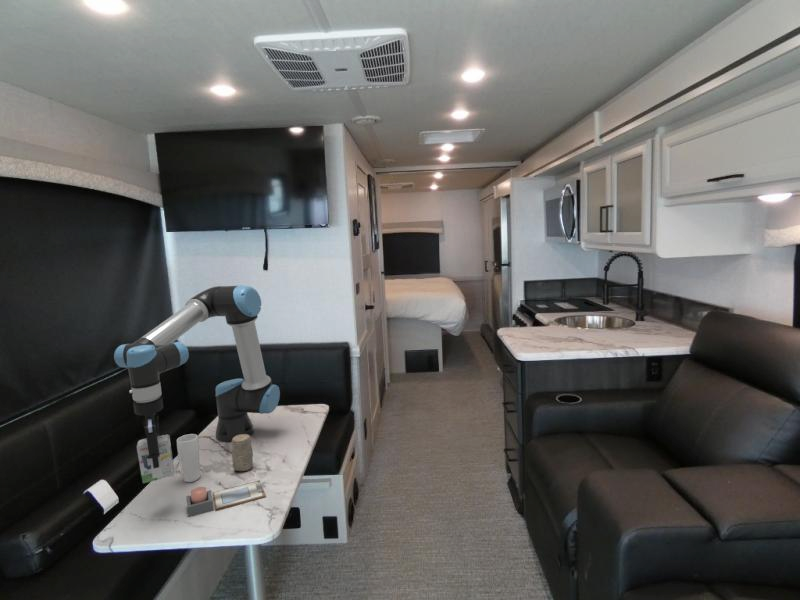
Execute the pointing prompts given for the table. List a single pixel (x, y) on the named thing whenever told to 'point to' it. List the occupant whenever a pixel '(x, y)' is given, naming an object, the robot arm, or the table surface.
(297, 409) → the table surface
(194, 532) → the table surface
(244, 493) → the picture frame
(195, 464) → the drinking glass
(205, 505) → the button housing
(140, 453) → the ink box
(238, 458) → the carving
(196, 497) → the button
